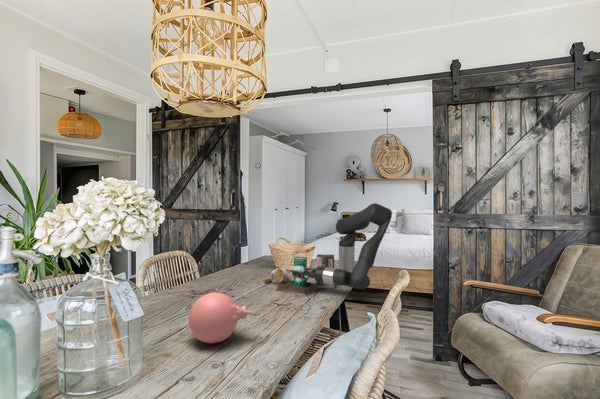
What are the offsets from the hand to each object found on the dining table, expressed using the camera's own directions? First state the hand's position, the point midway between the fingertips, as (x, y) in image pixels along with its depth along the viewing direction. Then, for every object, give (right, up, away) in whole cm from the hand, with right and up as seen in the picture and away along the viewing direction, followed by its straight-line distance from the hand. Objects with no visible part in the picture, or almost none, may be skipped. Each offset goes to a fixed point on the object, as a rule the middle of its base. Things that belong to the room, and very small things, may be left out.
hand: (296, 271), depth 162 cm
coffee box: (+15, -10, +8) cm, 19 cm away
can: (+2, -8, -1) cm, 9 cm away
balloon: (-24, -10, -57) cm, 62 cm away
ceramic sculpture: (-10, -10, +15) cm, 21 cm away
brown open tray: (0, -9, 0) cm, 9 cm away
